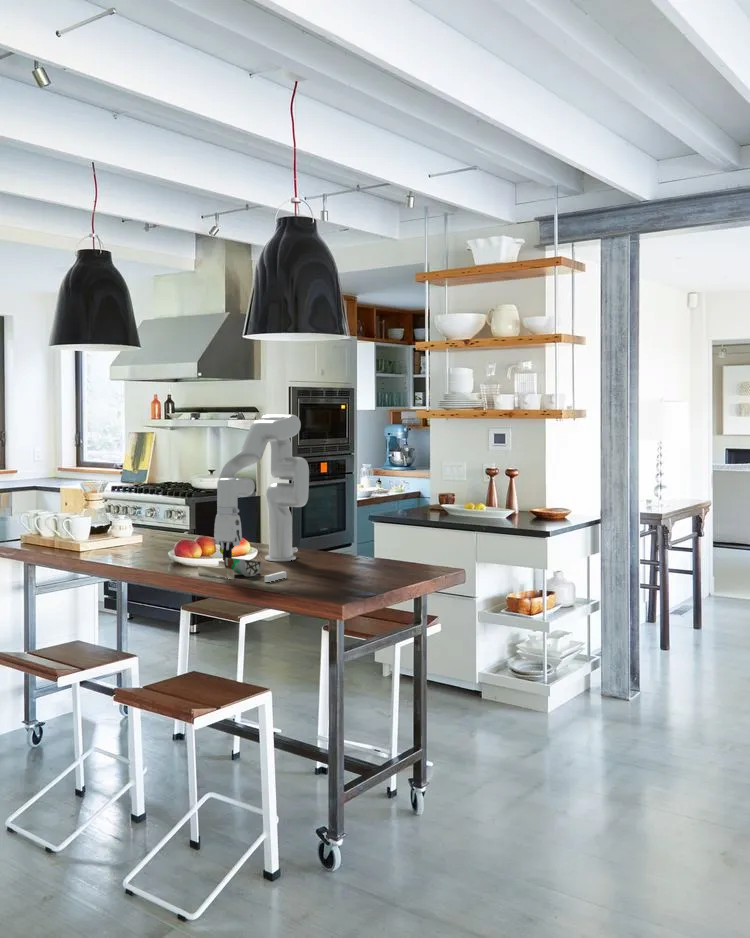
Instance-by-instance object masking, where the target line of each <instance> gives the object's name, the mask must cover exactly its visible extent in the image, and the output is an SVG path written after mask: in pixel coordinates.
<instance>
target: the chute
mask: <svg viewBox="0 0 750 938" xmlns="http://www.w3.org/2000/svg"><path fill="white" fill-rule="evenodd" d="M197 569H198V570H197V575H198V574H200V575H199V576H205V575H209V576H208V577H212V576H219V577H218V578H220V577H226V578H225V579H227V578H229V579H234V580H235V572H234V570H233V569H230V568H225V565H224V560H223V559H222V560H218V566H215V565H214V566H213V565H207V564H206V565H205V564H198V565H197ZM259 573H260V571H259V572H258V573H257V574H256V575H258V574H259ZM229 579H228V580H229Z"/></svg>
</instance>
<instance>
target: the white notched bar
mask: <svg viewBox="0 0 750 938" xmlns="http://www.w3.org/2000/svg"><path fill="white" fill-rule="evenodd" d="M282 578H285V579H287V571H278V572H275V573H270V574H266V575H264V583H265V582H270V583H272V582H271V581H274V582H276V581H275V580H278V579H282ZM282 580H283V579H282ZM278 581H279V580H278Z"/></svg>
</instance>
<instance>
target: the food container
mask: <svg viewBox="0 0 750 938" xmlns="http://www.w3.org/2000/svg"><path fill="white" fill-rule="evenodd" d="M223 561H224V565H225V568H230V569H233V570H234V574H235V573H236V574H241V575H243V576H244V577H247V578H248V577H254V576H256V575H258V574H259V573H260V570H261V569H262V567H263V566H262V565H263V561H258V560H251V559H250V560H249V559H245V558H236V557H235V558H234V557H232V558H225V557H224V560H223ZM258 572H259V573H258ZM257 573H258V574H257Z"/></svg>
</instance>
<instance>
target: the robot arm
mask: <svg viewBox="0 0 750 938" xmlns="http://www.w3.org/2000/svg"><path fill="white" fill-rule="evenodd" d="M301 425H302V424H301V420H300V417H298V416H297V415H295V414H283V413H282V414H278V413H277V414H273V413H272V414H270V413H269V414H265V415H262V416H261V417H260V419H258V420H254V421H253V422H252V423H251V425H250V426H249V429H248V432H247V434H246V437H245V440H244V441H243V444H242V447H241V449H240V451H238V453H236V454H235V455H234V456H232V457H231V458H230V459H229V460H228V461H227V462H226V464H224V466H223V467H222V469H221V471H220V474H219V477H218V480H217V487H216V488H217V489H216V490H217V491H216V492H217V493H216V497H217V499H216V504H217V505H216V506H217V507H216V508H217V509H216V511H217V512H216V515H215V518H214V529H213V531H214V532H213V536H214V537H213V538H214V540H215V544H217V545H219V546H220V548H221V550H222V561H224V557H225V558H233V557H232V555H233V552H232V551H233V550H234V548H235V547H236V546H239V545H240V541H242V539H243V532H242V522H241V517H240V515H239V513H240V509H239V508H238V504H239V503H238V499H239V497H243V498H244V497H250V496H251V495H252V494H253V493H254V492H255V489H256V484H255V482H254V480H253V479H252V478H250V477H248V476H247V477H246V476H236V474H238V473H239V471H242V470H244V469H245V468H247V467H249V466H252V465H254V464H257V463H259V462H260V461H261V460H262V458H263V456H264V452H265V450H266V448H267V445H268V443H270V475H271V476H272V478H273V479H275V480H282V481H283V480H285V481H293V483H289V482H275V483H274V482H273V483H271V484H269V486H268V487H267V488H266V502H267V508H268V554H267V555H265V556H264V559H265V560H266V561H269V562H290V561H291V560H292V561H294V560H296V559H297V556H296V555H294V553H297V552H298V549H299V548H298V547H293V516H292V513H291V511H290V509H289V508H302V507H304V506H306V504H307V503H308V500H309V493H310V491H309V487H310V486H309V485H310V484H309V483H310V469H309V464H308V461H307V460H306V459H305V458H304V457H301V456H293V448H292V447H293V445H292V442H291V440H290V439H291V438H293V437H295V436H296V435H298V433H300V431H301V427H302V426H301Z"/></svg>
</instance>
